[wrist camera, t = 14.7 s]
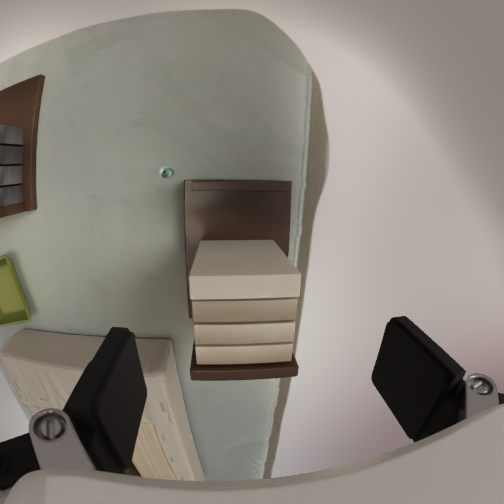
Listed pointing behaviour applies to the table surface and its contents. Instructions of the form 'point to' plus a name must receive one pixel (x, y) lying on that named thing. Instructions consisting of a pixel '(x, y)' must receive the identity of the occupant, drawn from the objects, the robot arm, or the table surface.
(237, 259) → the cream book
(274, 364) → the dark brown rack
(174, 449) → the box
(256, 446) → the table surface
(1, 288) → the green tray
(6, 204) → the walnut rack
